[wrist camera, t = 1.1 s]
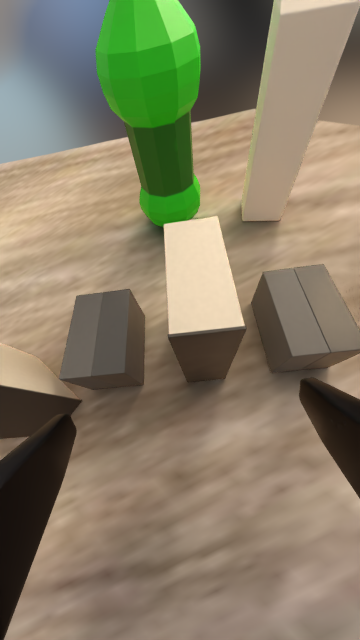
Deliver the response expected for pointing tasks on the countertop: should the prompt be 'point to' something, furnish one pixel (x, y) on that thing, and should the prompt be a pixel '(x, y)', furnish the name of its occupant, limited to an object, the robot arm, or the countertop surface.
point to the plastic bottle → (154, 98)
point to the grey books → (271, 316)
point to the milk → (292, 97)
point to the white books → (29, 394)
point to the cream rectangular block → (201, 299)
